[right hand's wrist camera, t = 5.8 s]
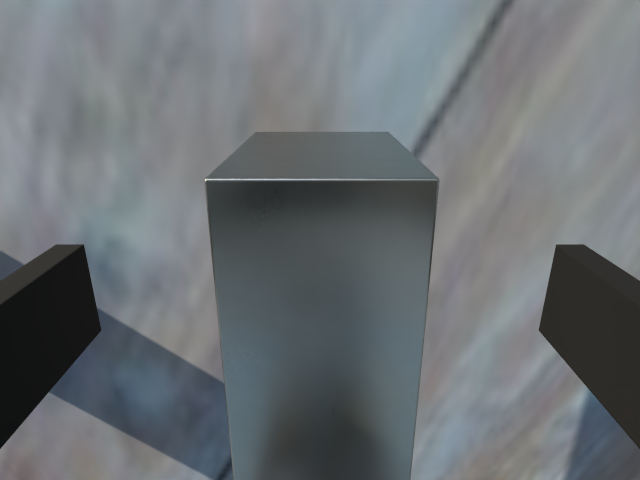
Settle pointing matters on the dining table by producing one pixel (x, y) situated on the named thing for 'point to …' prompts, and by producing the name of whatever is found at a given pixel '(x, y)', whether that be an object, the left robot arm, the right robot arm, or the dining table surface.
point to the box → (321, 302)
